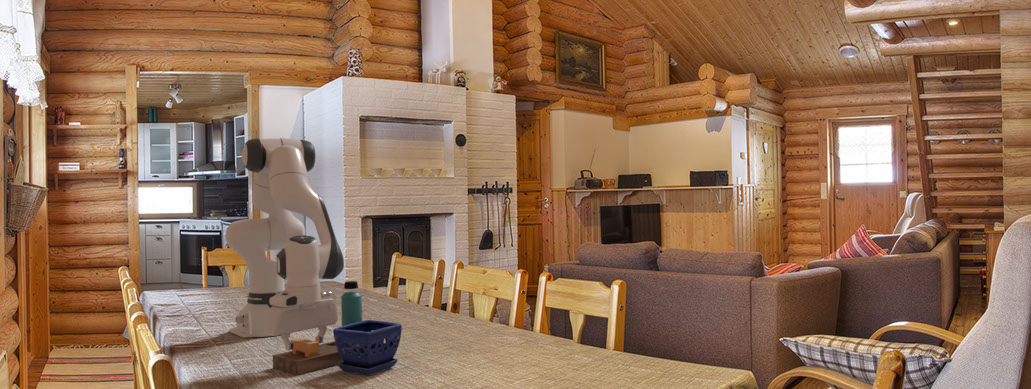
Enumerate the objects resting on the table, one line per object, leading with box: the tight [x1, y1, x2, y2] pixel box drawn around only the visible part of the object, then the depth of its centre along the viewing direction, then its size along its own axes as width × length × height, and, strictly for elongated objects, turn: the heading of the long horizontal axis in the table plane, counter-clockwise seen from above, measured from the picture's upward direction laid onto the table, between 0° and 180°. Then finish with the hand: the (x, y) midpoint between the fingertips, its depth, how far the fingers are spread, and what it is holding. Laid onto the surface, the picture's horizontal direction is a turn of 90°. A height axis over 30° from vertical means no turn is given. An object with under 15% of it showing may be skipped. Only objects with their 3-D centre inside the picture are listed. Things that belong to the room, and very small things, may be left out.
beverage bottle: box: [340, 280, 364, 326], centre depth 209 cm, size 6×7×20 cm
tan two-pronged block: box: [290, 337, 320, 358], centre depth 186 cm, size 9×3×7 cm, turn 51°
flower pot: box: [332, 319, 402, 376], centre depth 181 cm, size 13×13×12 cm
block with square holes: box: [272, 340, 344, 376], centre depth 191 cm, size 12×24×4 cm, turn 141°
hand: (304, 346), depth 186 cm, fingers open, 8 cm apart
